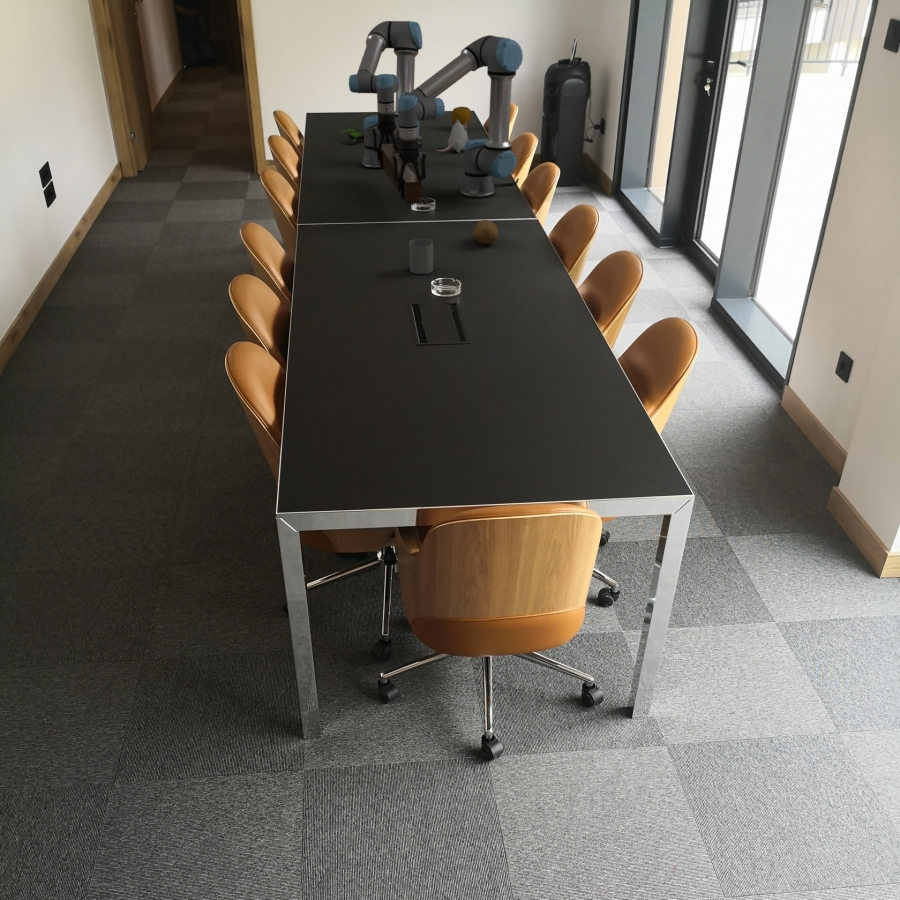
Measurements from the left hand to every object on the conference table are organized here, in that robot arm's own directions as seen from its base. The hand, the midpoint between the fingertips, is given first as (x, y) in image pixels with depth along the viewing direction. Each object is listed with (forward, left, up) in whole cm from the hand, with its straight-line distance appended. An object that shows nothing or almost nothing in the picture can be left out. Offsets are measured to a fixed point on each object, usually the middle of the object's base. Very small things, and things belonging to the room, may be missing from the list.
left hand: (388, 166), depth 393 cm
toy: (-65, -10, -9) cm, 66 cm away
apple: (-110, -34, -9) cm, 116 cm away
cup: (+78, +75, -9) cm, 109 cm away
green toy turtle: (-59, -61, -9) cm, 85 cm away
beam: (+17, +19, 0) cm, 25 cm away
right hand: (+34, +37, 0) cm, 50 cm away
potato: (+41, +78, -9) cm, 89 cm away
